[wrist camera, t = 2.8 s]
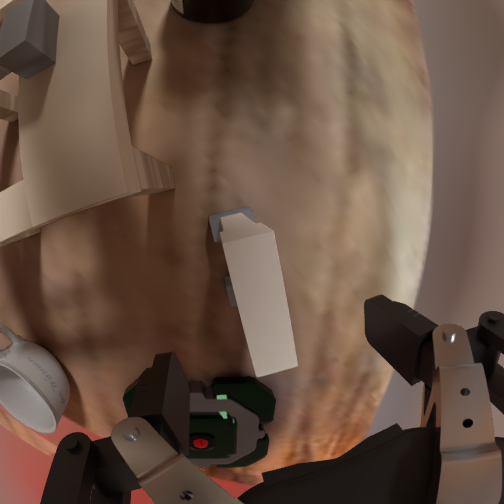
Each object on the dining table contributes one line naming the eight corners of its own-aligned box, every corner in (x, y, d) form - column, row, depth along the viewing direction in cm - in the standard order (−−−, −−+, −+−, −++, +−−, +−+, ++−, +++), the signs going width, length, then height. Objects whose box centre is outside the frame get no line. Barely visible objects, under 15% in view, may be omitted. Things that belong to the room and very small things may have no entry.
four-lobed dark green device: (146, 453, 32) (143, 475, 27) (121, 366, 28) (111, 390, 23) (262, 453, 34) (268, 475, 30) (273, 368, 30) (283, 392, 26)
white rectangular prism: (209, 215, 25) (208, 244, 12) (247, 206, 25) (285, 226, 13) (228, 295, 27) (246, 381, 14) (264, 286, 27) (308, 364, 15)
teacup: (86, 403, 28) (69, 444, 20) (27, 388, 26) (5, 421, 18) (60, 311, 25) (25, 346, 17) (-2, 302, 23) (-37, 328, 15)
